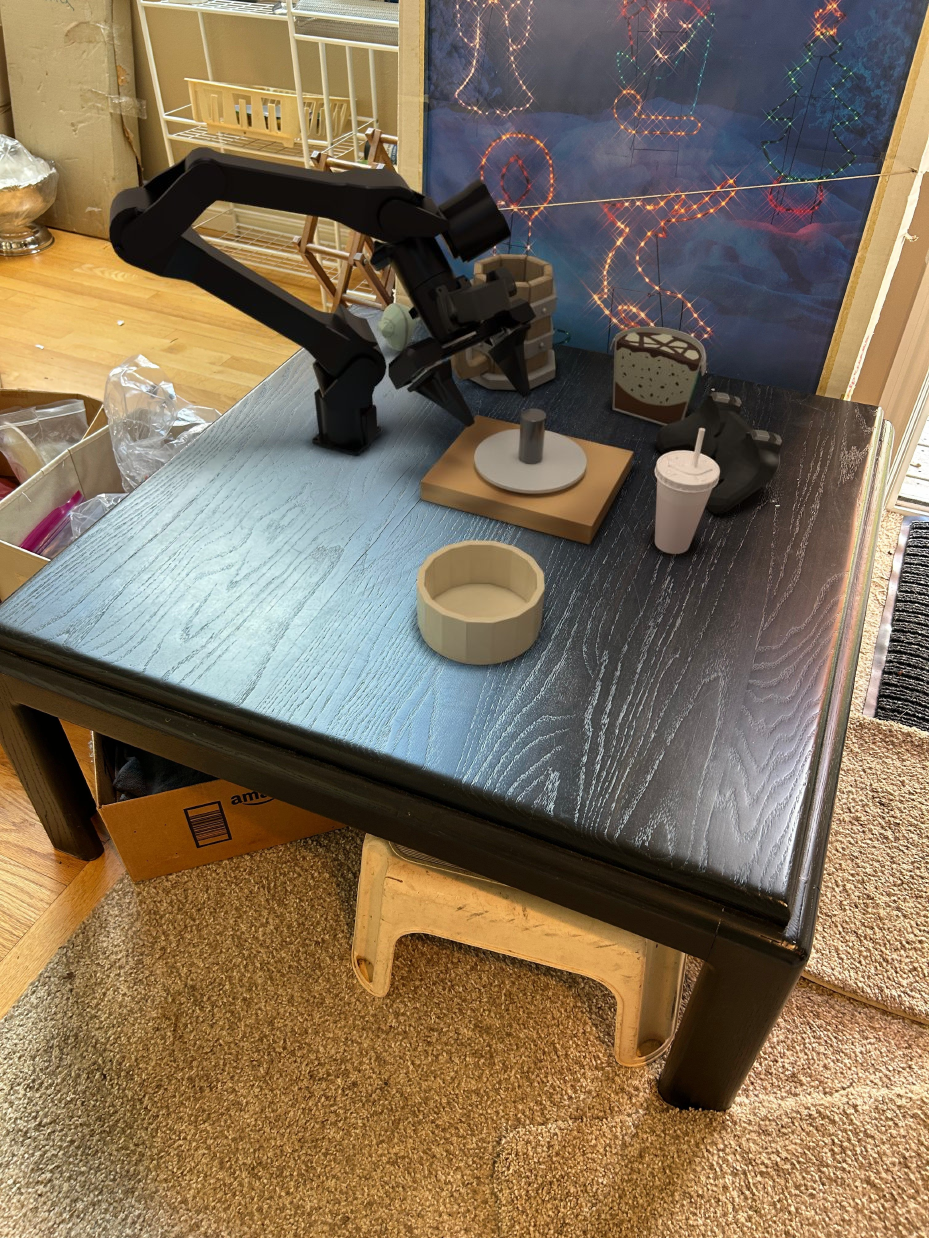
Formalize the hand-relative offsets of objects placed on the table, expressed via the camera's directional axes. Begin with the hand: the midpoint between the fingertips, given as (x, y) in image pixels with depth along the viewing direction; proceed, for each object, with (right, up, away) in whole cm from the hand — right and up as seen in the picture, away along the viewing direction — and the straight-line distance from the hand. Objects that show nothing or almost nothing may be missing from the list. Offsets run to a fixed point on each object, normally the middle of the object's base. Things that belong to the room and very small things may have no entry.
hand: (500, 410), depth 102 cm
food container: (+21, +4, +16) cm, 27 cm away
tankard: (-1, +10, +22) cm, 24 cm away
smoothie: (+18, -15, -5) cm, 24 cm away
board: (+3, -8, +3) cm, 9 cm away
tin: (-3, -24, -14) cm, 28 cm away
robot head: (-13, +15, +28) cm, 34 cm away
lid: (+3, -6, +1) cm, 7 cm away
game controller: (+25, -7, +5) cm, 27 cm away
